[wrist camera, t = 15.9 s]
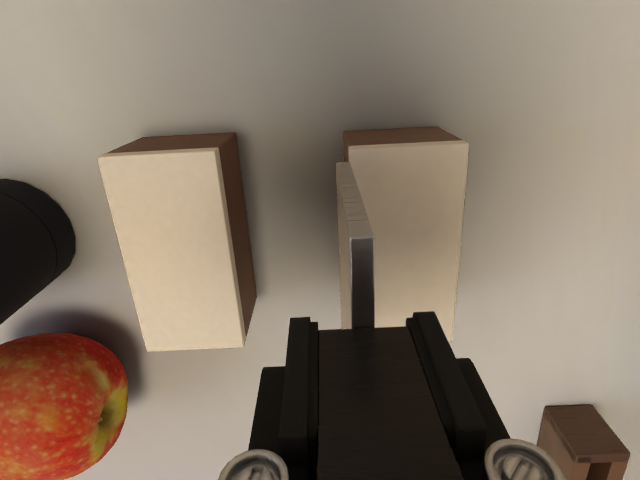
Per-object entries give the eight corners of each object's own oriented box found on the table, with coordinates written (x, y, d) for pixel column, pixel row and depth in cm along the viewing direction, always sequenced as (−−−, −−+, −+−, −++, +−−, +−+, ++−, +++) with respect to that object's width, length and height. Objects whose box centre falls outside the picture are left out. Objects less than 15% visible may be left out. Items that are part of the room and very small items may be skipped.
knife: (313, 163, 17) (304, 395, 5) (372, 160, 17) (498, 386, 5) (322, 328, 20) (331, 710, 8) (372, 325, 20) (452, 705, 8)
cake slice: (342, 131, 22) (349, 149, 18) (438, 126, 22) (469, 143, 18) (347, 296, 26) (354, 346, 21) (428, 292, 26) (452, 342, 21)
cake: (141, 137, 22) (95, 156, 18) (236, 132, 22) (214, 150, 18) (176, 301, 26) (146, 352, 22) (256, 297, 26) (243, 347, 21)
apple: (143, 411, 30) (86, 527, 22) (20, 397, 29) (-81, 511, 22) (143, 316, 27) (76, 413, 19) (5, 298, 26) (-118, 391, 19)
